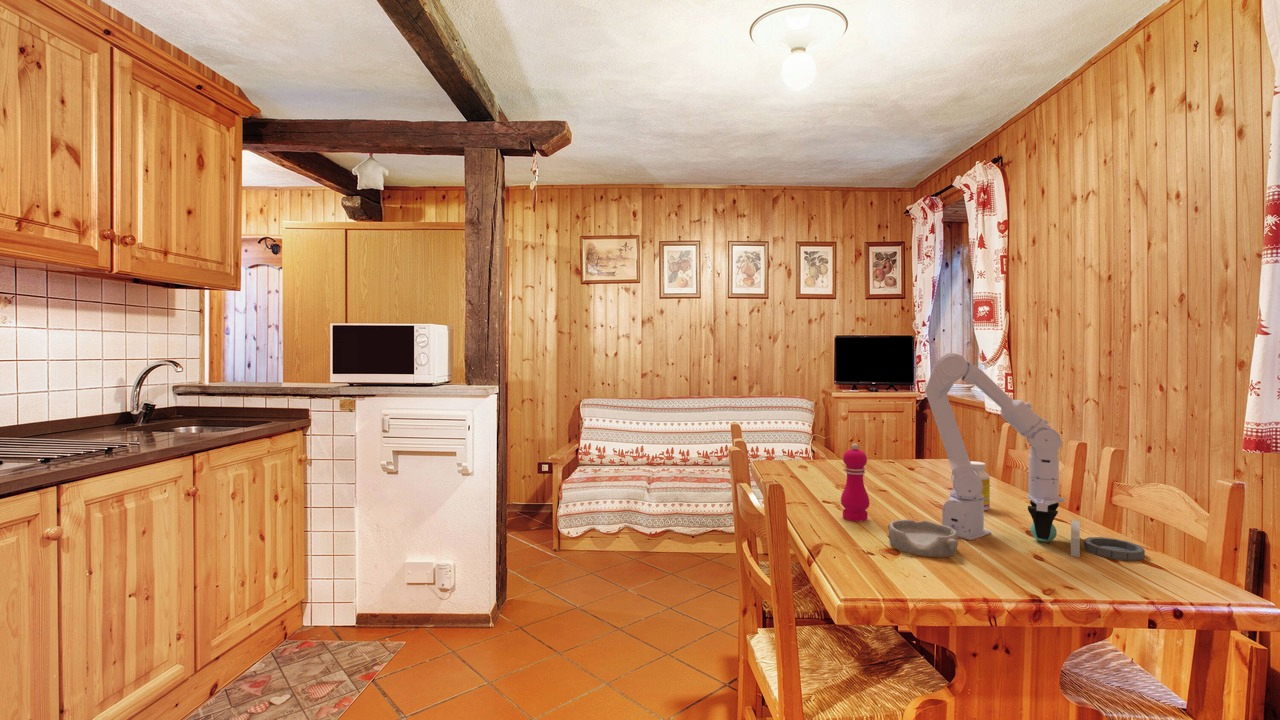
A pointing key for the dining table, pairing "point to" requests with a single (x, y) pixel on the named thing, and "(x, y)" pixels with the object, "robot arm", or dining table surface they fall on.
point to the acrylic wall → (1075, 538)
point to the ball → (1051, 537)
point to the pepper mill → (855, 486)
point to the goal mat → (1114, 548)
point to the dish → (923, 538)
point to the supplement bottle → (985, 480)
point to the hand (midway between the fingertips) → (1043, 535)
